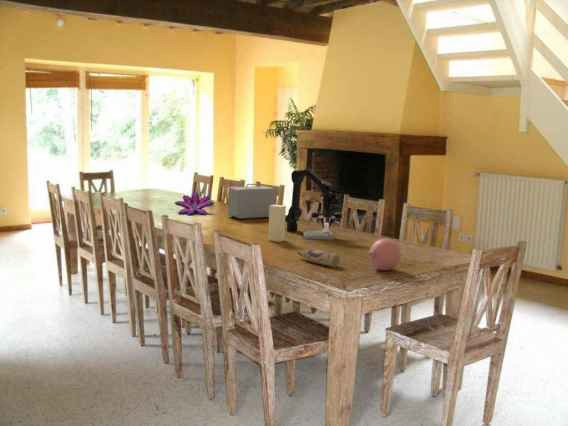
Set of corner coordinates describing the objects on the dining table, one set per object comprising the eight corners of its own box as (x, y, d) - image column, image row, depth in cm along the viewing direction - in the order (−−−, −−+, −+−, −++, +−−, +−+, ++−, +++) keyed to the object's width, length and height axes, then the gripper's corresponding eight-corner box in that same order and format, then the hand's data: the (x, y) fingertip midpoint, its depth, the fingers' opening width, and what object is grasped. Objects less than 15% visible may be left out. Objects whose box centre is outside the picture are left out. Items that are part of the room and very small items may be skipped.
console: (304, 238, 359) (304, 233, 359) (303, 233, 375) (303, 229, 375) (333, 239, 360) (333, 234, 359) (331, 234, 375) (331, 230, 375)
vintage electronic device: (264, 214, 450) (265, 181, 446) (276, 217, 435) (277, 184, 431) (226, 216, 434) (227, 182, 430) (237, 220, 419) (238, 185, 415)
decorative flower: (213, 222, 437) (212, 211, 431) (172, 224, 437) (170, 213, 432) (217, 200, 462) (215, 189, 457) (178, 202, 463) (176, 191, 457)
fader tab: (323, 234, 365) (323, 224, 364) (322, 232, 370) (322, 222, 369) (329, 234, 365) (329, 224, 364) (328, 232, 370) (329, 223, 369)
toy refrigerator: (285, 239, 354) (286, 205, 350) (280, 242, 347) (281, 206, 344) (273, 238, 357) (274, 204, 354) (268, 240, 350) (268, 205, 347)
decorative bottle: (340, 266, 292) (341, 253, 291) (330, 268, 287) (331, 255, 286) (303, 256, 310) (303, 244, 309) (293, 259, 305) (293, 246, 304)
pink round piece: (354, 269, 287) (356, 238, 284) (384, 264, 298) (386, 235, 295) (376, 276, 274) (378, 244, 272) (406, 271, 285) (408, 240, 283)
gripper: (313, 205, 356) (311, 230, 359) (343, 206, 357) (342, 231, 359) (311, 203, 367) (310, 227, 370) (341, 203, 368) (340, 228, 370)
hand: (326, 228), depth 367 cm, fingers closed on fader tab, 3 cm apart
